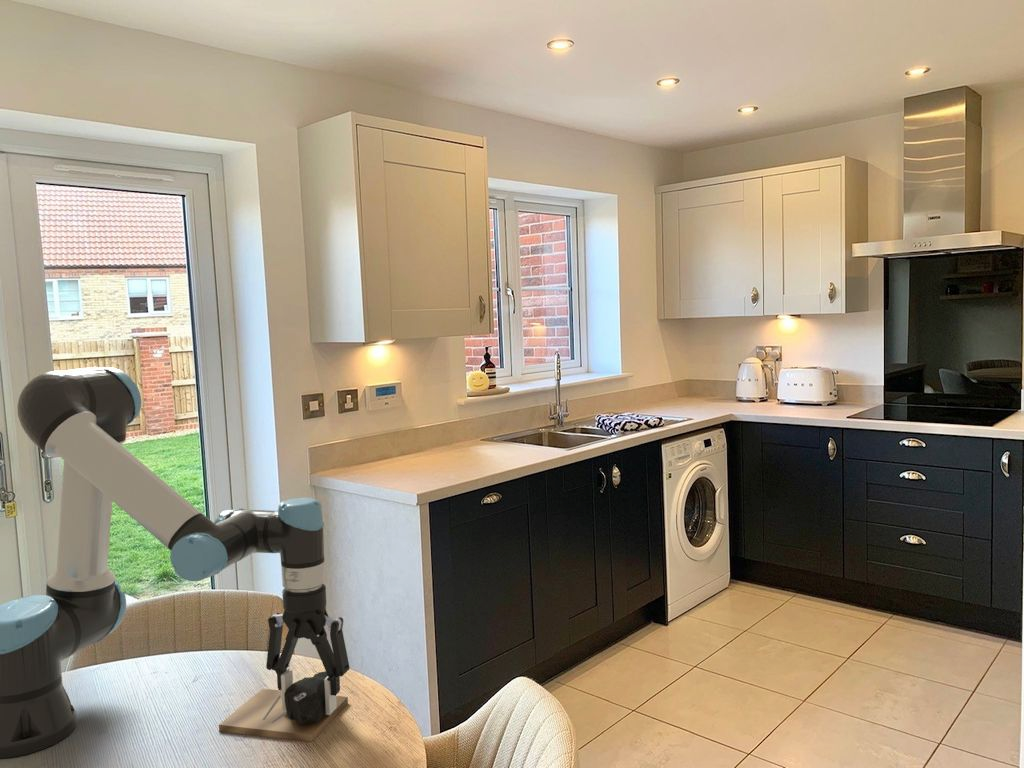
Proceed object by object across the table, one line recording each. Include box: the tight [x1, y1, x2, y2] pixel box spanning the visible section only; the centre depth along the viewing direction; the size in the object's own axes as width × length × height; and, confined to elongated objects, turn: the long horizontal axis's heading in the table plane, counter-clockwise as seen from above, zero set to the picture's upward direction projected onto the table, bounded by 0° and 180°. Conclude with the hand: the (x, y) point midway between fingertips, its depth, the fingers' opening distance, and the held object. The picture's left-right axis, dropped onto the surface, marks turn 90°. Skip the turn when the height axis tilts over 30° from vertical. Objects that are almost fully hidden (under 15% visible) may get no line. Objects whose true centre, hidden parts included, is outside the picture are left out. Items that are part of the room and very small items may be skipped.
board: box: [218, 688, 349, 743], centre depth 144 cm, size 18×14×1 cm
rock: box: [284, 670, 328, 724], centre depth 141 cm, size 9×10×6 cm
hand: (309, 708), depth 142 cm, fingers closed on rock, 8 cm apart
